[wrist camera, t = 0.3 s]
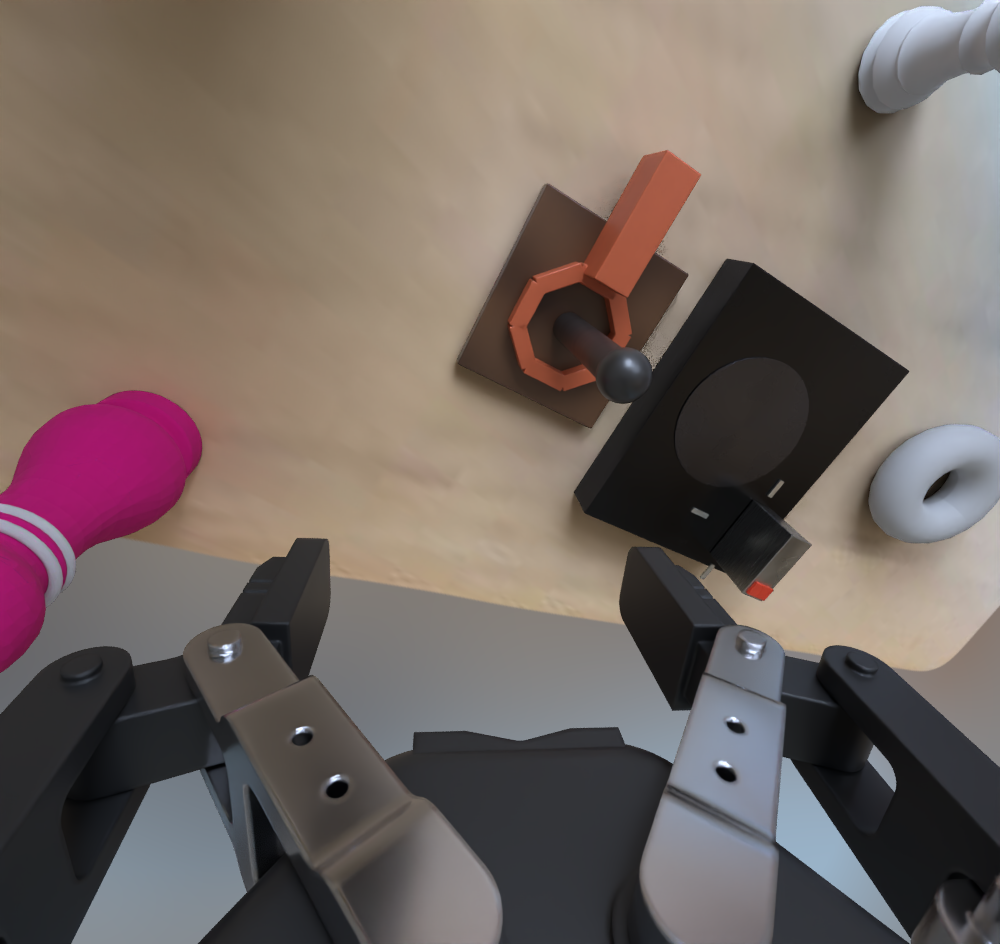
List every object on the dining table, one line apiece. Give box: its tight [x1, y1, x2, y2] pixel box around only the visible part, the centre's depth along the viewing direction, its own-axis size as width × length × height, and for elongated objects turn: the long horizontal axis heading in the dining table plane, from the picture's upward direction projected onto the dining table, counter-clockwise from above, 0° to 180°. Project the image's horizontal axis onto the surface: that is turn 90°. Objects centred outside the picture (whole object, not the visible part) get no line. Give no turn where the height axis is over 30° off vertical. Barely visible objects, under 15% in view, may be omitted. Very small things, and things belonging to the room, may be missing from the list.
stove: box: [574, 259, 909, 579], centre depth 36 cm, size 19×16×3 cm
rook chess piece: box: [858, 0, 1000, 113], centre depth 25 cm, size 4×4×8 cm
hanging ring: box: [508, 150, 701, 391], centre depth 29 cm, size 13×7×3 cm, turn 152°
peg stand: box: [457, 184, 688, 428], centre depth 27 cm, size 11×10×12 cm
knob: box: [710, 500, 812, 601], centre depth 36 cm, size 5×2×5 cm, turn 152°
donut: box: [868, 424, 1000, 543], centre depth 40 cm, size 10×4×10 cm
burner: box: [674, 357, 809, 487], centre depth 34 cm, size 9×9×1 cm
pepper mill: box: [0, 391, 202, 673], centre depth 24 cm, size 7×7×20 cm
